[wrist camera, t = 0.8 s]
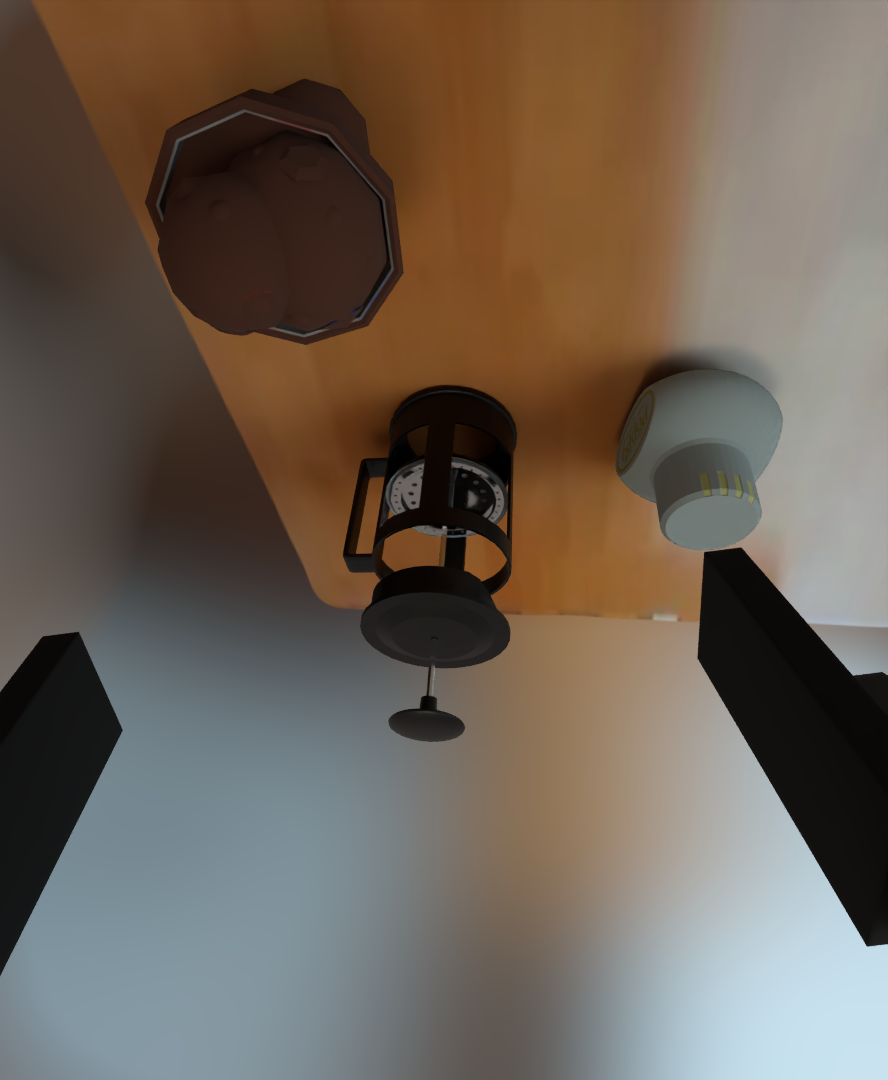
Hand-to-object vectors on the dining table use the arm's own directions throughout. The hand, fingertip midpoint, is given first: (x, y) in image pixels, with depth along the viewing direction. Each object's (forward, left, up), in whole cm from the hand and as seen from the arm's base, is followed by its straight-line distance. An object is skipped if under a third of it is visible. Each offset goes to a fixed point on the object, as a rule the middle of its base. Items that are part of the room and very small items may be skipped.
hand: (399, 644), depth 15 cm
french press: (+24, -3, -31) cm, 39 cm away
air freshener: (+22, +14, -31) cm, 40 cm away
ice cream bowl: (+3, -8, -31) cm, 32 cm away
